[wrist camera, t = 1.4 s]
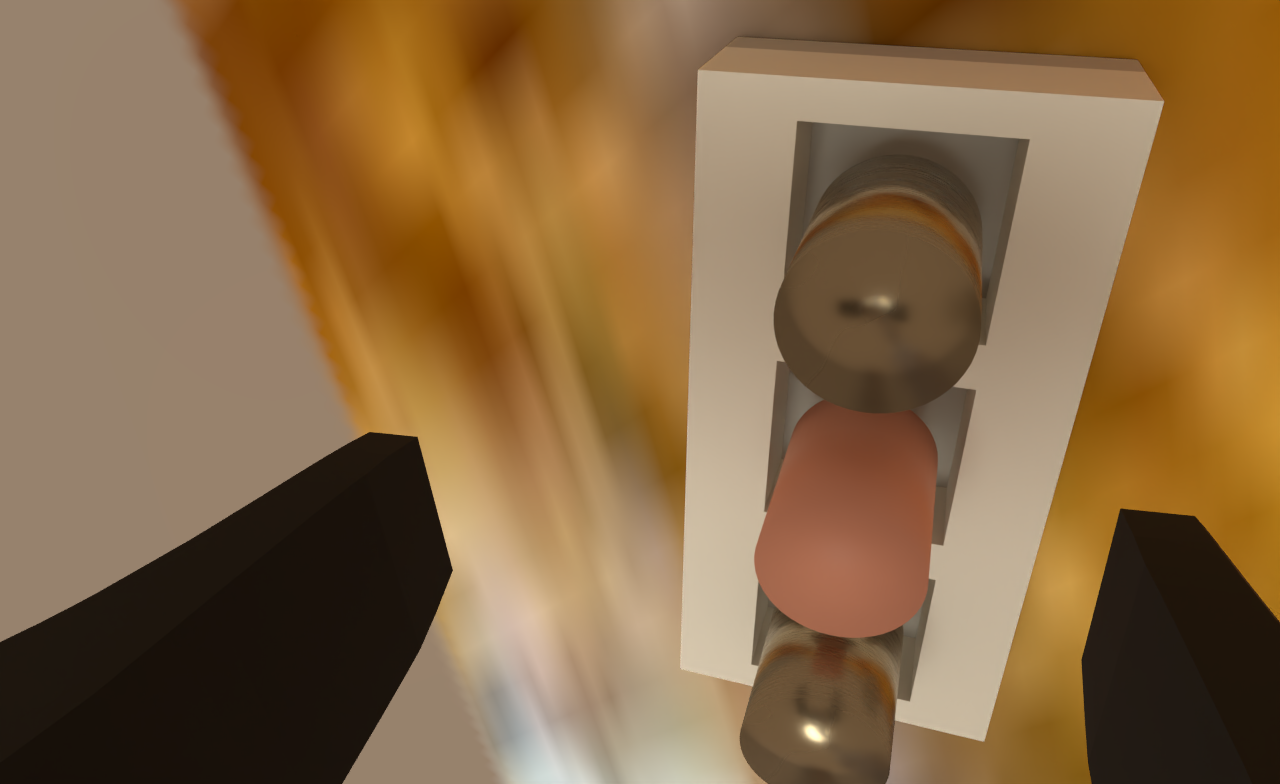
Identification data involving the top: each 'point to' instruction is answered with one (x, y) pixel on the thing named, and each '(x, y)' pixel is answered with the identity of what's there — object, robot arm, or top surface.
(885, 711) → the bronze plunger
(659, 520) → the top surface
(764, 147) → the white slotted tray
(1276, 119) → the top surface
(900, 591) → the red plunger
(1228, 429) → the top surface
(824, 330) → the bronze plunger
